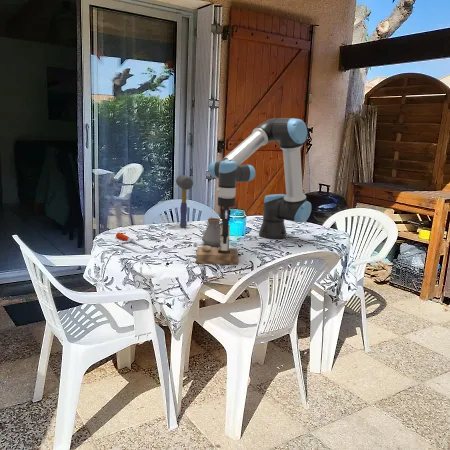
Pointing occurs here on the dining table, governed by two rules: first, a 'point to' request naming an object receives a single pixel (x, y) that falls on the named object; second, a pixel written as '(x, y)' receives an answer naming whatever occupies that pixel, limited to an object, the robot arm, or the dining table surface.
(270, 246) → the dining table surface
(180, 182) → the rubber mallet
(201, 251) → the wooden block with hole
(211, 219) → the coffee pot
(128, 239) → the hand saw
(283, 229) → the robot arm
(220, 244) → the beech dowel
